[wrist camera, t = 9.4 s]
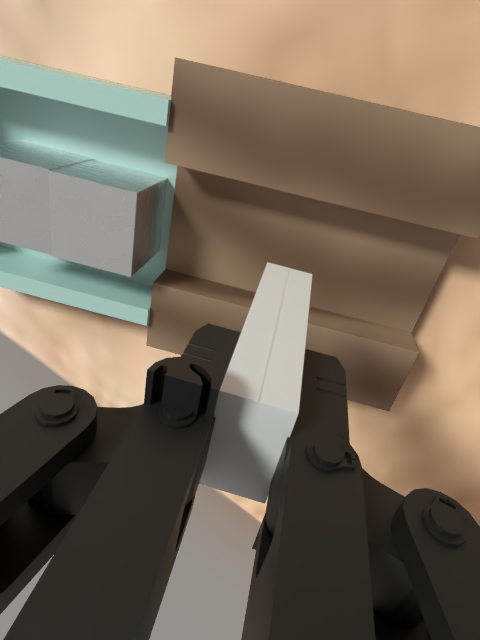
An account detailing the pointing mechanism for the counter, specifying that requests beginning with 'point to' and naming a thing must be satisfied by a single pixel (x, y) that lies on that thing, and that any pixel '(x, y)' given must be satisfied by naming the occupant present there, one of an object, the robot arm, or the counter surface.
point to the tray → (101, 144)
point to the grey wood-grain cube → (106, 215)
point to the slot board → (311, 215)
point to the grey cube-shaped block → (29, 192)
